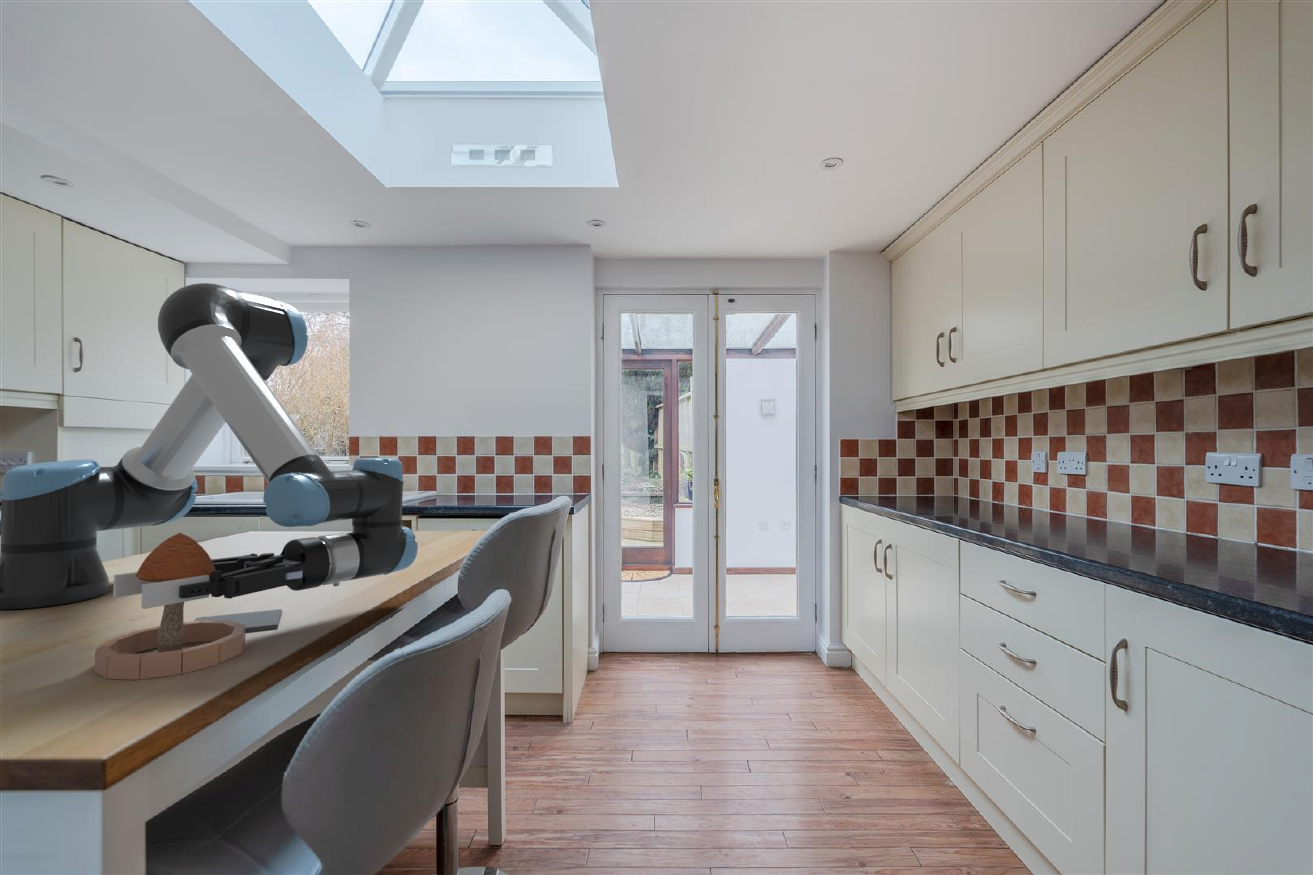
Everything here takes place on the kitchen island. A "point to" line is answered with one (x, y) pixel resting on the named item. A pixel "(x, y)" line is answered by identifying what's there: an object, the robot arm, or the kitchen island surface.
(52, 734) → the kitchen island surface
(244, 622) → the mat
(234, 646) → the ring
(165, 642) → the mushroom
